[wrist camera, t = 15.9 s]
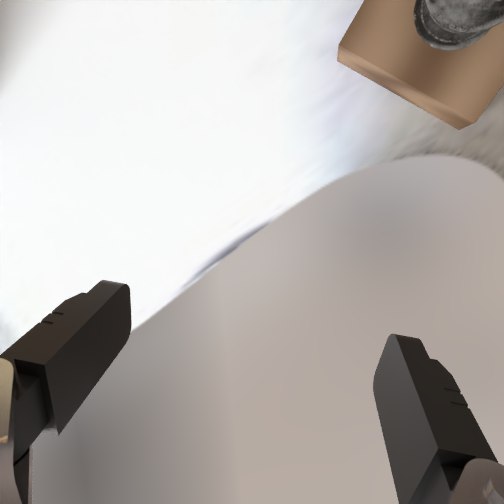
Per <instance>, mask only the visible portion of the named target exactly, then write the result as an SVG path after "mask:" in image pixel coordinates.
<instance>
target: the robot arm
mask: <svg viewBox="0 0 504 504" xmlns="http://www.w3.org/2000/svg"><path fill="white" fill-rule="evenodd" d="M130 331H131V303H130V288H129V286H128V285H127V284H123V283H117V282H112V281H106V280H102V281H100V282H99V283H98V284H97V285H95V286H94V287H93V288H92V289H91V290H90V291H89V292H88V293H80V294H78V295H76V296H74V297H72V298H69V299H67V300H65V301H64V302H63V303H62V304H60V305H59V306H58V307H57V308H56V309H54V310H53V311H52V314H51V313H50V314H48V315H47V316H46V317H45V318H44V319H43V320H42V322H41V323H38V324H37V325H35V326H34V327H33V328H32V329H31V330H29V331H28V332H27V333H26V334H25V335H24V336H22V337H21V338H20V339H19V340H18V341H16V342H15V343H14V344H13V345H12V346H10V347H9V348H8V349H7V350H6V351H5V352H3V353H2V354H1V355H0V504H32V494H33V491H32V490H33V446H32V443H33V442H34V441H35V439H36V438H37V437H38V435H39V434H40V433H41V432H43V433H47V434H52V435H56V436H58V435H59V434H60V433H61V432H62V430H63V429H64V427H65V426H66V424H67V423H68V422H69V421H70V419H71V418H72V416H73V415H74V414H75V412H76V411H77V410H78V408H79V407H80V406H81V404H82V403H83V401H84V400H85V399H86V397H87V396H88V395H89V393H90V392H91V390H92V389H93V388H94V386H95V385H96V384H97V382H98V381H99V379H100V378H101V377H102V375H103V374H104V373H105V371H106V370H107V369H108V367H109V366H110V364H111V363H112V362H113V360H114V359H115V358H116V356H117V355H118V353H119V352H120V351H121V349H122V348H123V347H124V345H125V344H126V342H127V340H128V338H129V335H130ZM373 390H374V397H375V401H376V405H377V410H378V414H379V419H380V423H381V427H382V432H383V436H384V440H385V444H386V449H387V453H388V457H389V462H390V466H391V471H392V475H393V479H394V484H395V488H396V492H397V497H398V501H399V504H504V466H503V465H501V464H499V463H498V461H497V459H496V457H495V456H494V454H493V452H492V450H491V448H490V446H489V444H488V443H487V440H486V439H485V437H484V435H483V433H482V431H481V429H480V427H479V425H478V423H477V421H476V420H475V418H474V416H473V414H472V412H471V410H470V409H469V408H468V404H467V403H466V401H465V399H464V397H463V395H462V394H460V389H459V387H458V385H457V384H456V382H455V380H454V378H453V376H452V375H451V374H450V373H449V372H448V371H447V370H446V368H444V366H442V364H441V363H440V362H439V361H438V360H434V359H430V358H429V356H428V354H427V352H426V350H425V348H424V346H423V343H422V342H421V340H420V339H418V338H413V337H407V336H402V335H397V334H391V335H390V336H389V337H388V340H387V342H386V344H385V347H384V350H383V353H382V355H381V358H380V361H379V364H378V366H377V369H376V372H375V375H374V383H373Z"/></svg>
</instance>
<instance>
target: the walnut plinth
mask: <svg viewBox="0 0 504 504" xmlns="http://www.w3.org/2000/svg"><path fill="white" fill-rule="evenodd" d="M415 2H416V0H364V2H363V4H362V5H361V7H360V9H359V11H358V12H357V14H356V16H355V18H354V19H353V21H352V23H351V24H350V26H349V28H348V30H347V31H346V33H345V35H344V37H343V38H342V40H341V42H340V44H339V47H338V57H337V61H339V62H340V63H342V64H344V65H346V66H347V67H349V68H351V69H353V70H354V71H356V72H358V73H360V74H361V75H363V76H365V77H367V78H369V79H370V80H372V81H374V82H376V83H377V84H379V85H381V86H383V87H384V88H386V89H388V90H390V91H391V92H393V93H395V94H397V95H398V96H400V97H402V98H404V99H405V100H407V101H409V102H411V103H413V104H414V105H416V106H418V107H420V108H421V109H423V110H425V111H427V112H428V113H430V114H432V115H434V116H435V117H437V118H439V119H441V120H442V121H444V122H446V123H448V124H450V125H451V126H453V127H455V128H457V129H458V130H460V129H462V128H464V127H466V126H469V125H471V124H473V123H475V122H476V121H477V120H478V118H479V117H480V116H481V114H482V113H483V112H484V110H485V109H486V107H487V106H488V105H489V103H490V102H491V101H492V99H493V98H494V96H495V95H496V94H497V92H498V91H499V90H500V88H501V87H502V85H503V84H504V22H503V23H500V24H498V25H496V26H494V27H492V28H491V29H490V30H489V31H488V32H487V33H486V35H485V36H483V37H482V38H481V39H479V40H478V41H477V42H476V43H474V44H472V45H470V46H468V47H466V48H463V49H459V50H454V51H447V50H439V49H436V48H434V47H431V46H430V45H428V44H427V43H426V42H424V41H423V40H422V38H421V37H420V35H419V34H418V33H417V30H416V27H415V24H414V7H415Z"/></svg>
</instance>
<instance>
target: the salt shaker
mask: <svg viewBox="0 0 504 504" xmlns="http://www.w3.org/2000/svg"><path fill="white" fill-rule="evenodd" d="M503 22H504V0H416V2H415V7H414V24H415V27H416V30H417V33H418V34H419V35H420V37H421V38H422V40H423V41H424V42H426V43H427V44H428V45H430V46H431V47H434V48H436V49H439V50H447V51H454V50H459V49H463V48H466V47H468V46H470V45H472V44H474V43H476V42H477V41H478V40H479V39H481V38H482V37H483V36H485V35H486V33H487V32H488V31H489V30H490V29H491V28H492V27H494V26H496V25H498V24H500V23H503Z"/></svg>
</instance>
